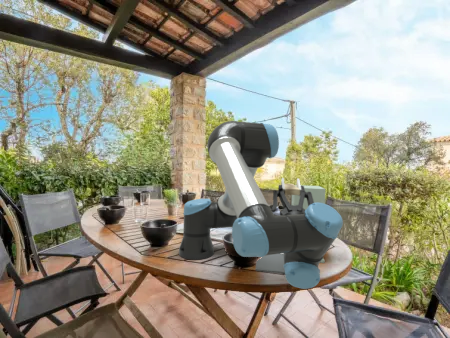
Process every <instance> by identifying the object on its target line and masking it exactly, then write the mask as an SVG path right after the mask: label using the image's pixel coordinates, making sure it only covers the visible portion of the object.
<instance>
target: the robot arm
mask: <svg viewBox="0 0 450 338" xmlns="http://www.w3.org/2000/svg"><path fill="white" fill-rule="evenodd" d="M206 147H207V152H208V156H209V157H210V159H211V161H212V162H213V163H214V164H216V166H217V170H218V172H219V175H220V177H221V179H222V182H223V184H224V187H225V190H224V194H222V195H221V196H220V197H219V198H218V200H217V201H212V200H211V199H210V198H197V199H196V198H195V199H192V200H188V201H187V202H185V203H184V205H183V206H184V207H183V236H182V239H181V242H180V245H179V249H178V254H179V255H178V256H180V257H182V258H183V259H187V260H204V259H208V258H211V257H212V256H213V255H214V253H215V251H214V249H215V247H214V244H213V241H212V238H211V230H213V229H227V228H229V229H230V228H231V229H232V230H231V235H232V245H233V247H234V249H235V251H236V253H237V254H238V255H239V256H241V257H244V258H245V257H246V258H247V257H248V258H250V257H252V258H253V257H254V258H257V257H263V256H265V255H273V254H284V270H285V274H284V275H285V276H284V277H285V280H286V281H287V283H288V284H290V285H291V286H292V287H294V288H299V289H302V290H303V289H304V290H305V289H306V290H307V289H312V288H315V287H316V286H317V285H318V284H319V282H320V281H321V275H320V273H321V270H320V268H319V264H321V263H320V262H321V260H322V259H323V258H324V256H325V255H326V253H327V252H328V251H329V249H330V247H331V246H332V245H333V243H334V242H335V240H336V239H337V238H338V237H339V233H340V231H341V229H342V228H343V226H344V225H343V224H344V221H343V217H342V215H341V214H340V213H339V212H338V211H337V210H336V209H335V208H333V207H332V206H331V205H328V204H326V203H325V204H324V203H319V202H316V203H314V201H313V197H312V193H311V192H305V189H304V186H305V185H304V186H301V185H302V184H301V180H300V178H298V177H297V178H296V184H295V185H297V188H299V189H300V195H298V196H300V200H299V203H298V205H291V203H290V202H289V201H288V198H287V195H285V185H284V184H285V178H284V177H281V183H280V184H279V185H278V187H277V189H278V190H273V191H272V193H273V195H272V200H273V201H272V204H273V205H272V207H270V206H269V204H268V202H267V200H266V197H265V196H264V194H263V192H262V190H261V188H260V186H259V185H258V183H257V181H256V180H255V178H254V177H255V175H256V173H257V170H258V169H259V168H262V167H263V166H264V165H265V162H266V161H267V159H272V158H275V157H276V156H277V155H278V152H279V147H280V141H279V134H278V131H277V128H276V127H275V126H274V125H272V124H269V123H264V122H259V123H258V122H249V121H248V122H247V121H238V120H229V121H225V122H222V123H220V124H219V125H217V126H216V127H215V128H214V129H213V130H212V131H211V133H210V135H209V137H208V139H207V146H206ZM278 198H279V201H280V202H281V205H282V207H283V208H282V210H280V208H279V207H278ZM304 198H307V202H308V208H307V209H306V210H305V209H303V203H304Z"/></svg>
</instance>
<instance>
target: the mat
mask: <svg viewBox="0 0 450 338" xmlns="http://www.w3.org/2000/svg"><path fill="white" fill-rule="evenodd" d="M255 272H266V273H274V274H282V275H283V274H284V275H285V270H284V253H281V254H273V255H265V256H263V257H262V258H261V259H259V260H258V261H257V260H256V264H255Z"/></svg>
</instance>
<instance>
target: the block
mask: <svg viewBox="0 0 450 338" xmlns="http://www.w3.org/2000/svg"><path fill="white" fill-rule="evenodd" d="M284 185H285V196H287V195H288V196H292V195H300V189H299V188H297V187H296V186H295V185H296V184H294V183H284Z"/></svg>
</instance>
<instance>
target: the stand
mask: <svg viewBox="0 0 450 338" xmlns="http://www.w3.org/2000/svg"><path fill="white" fill-rule="evenodd" d="M294 185H295V186H296V187H297V185H296V184H294ZM300 185H301V186H304V189H305V192H311V193H312V197H313V201H314V203H316V202H319V203H324V204H326V188H324V187H323V186H320V185H303V184H300ZM299 200H300V196H298V195H291V203H290V205H298V203H299ZM307 208H308V202H307V198H304V203H303V209H305V210H306V209H307ZM325 263H326V262H325V259H324V257H323V259H322V260H321V262H320V263H319V264H325Z"/></svg>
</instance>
